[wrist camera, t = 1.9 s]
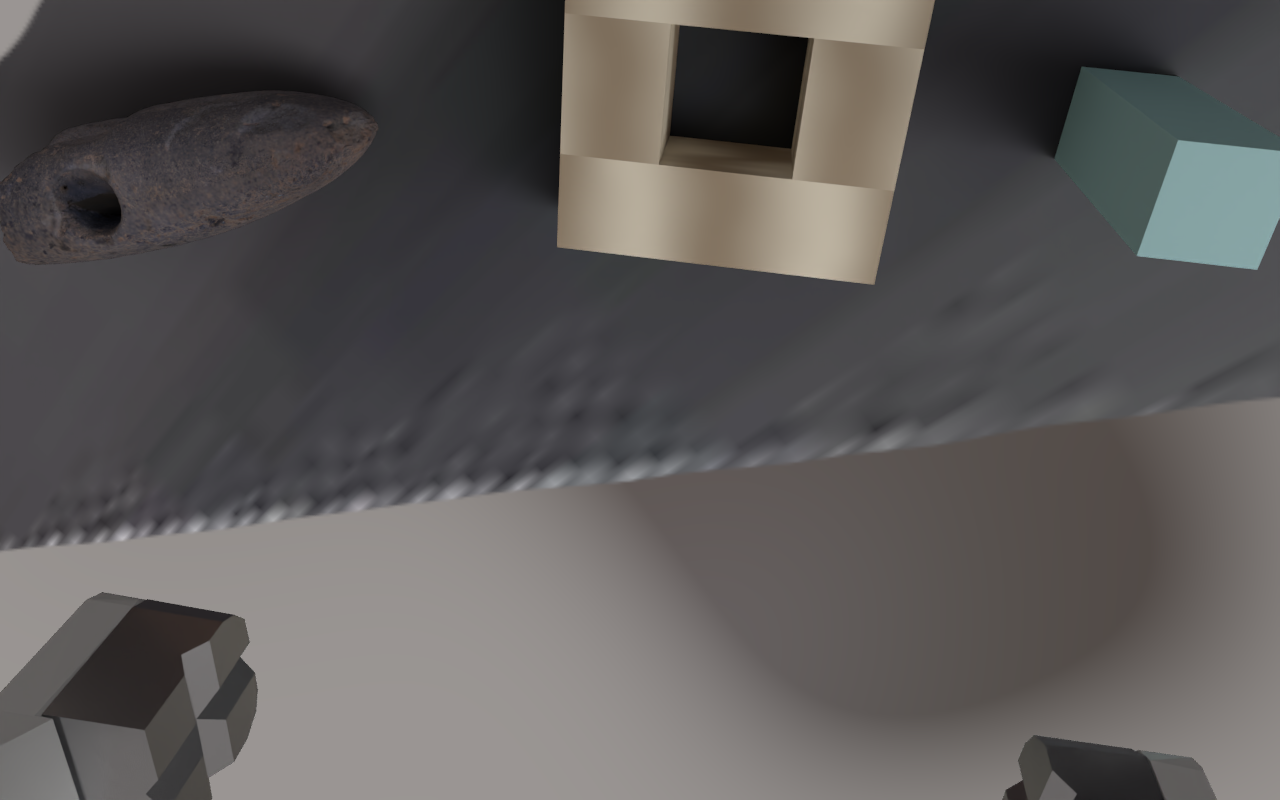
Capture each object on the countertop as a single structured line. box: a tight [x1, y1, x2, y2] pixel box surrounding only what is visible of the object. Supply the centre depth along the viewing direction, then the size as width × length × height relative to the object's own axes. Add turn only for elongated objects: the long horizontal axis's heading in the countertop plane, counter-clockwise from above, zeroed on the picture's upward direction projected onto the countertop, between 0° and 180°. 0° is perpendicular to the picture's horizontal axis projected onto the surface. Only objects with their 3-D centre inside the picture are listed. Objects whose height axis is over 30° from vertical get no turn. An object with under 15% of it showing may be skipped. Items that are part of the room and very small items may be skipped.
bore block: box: [557, 0, 935, 285], centre depth 35 cm, size 12×12×4 cm
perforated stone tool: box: [0, 90, 378, 265], centre depth 38 cm, size 15×5×7 cm, turn 102°
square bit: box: [1055, 67, 1280, 270], centre depth 32 cm, size 3×3×10 cm
